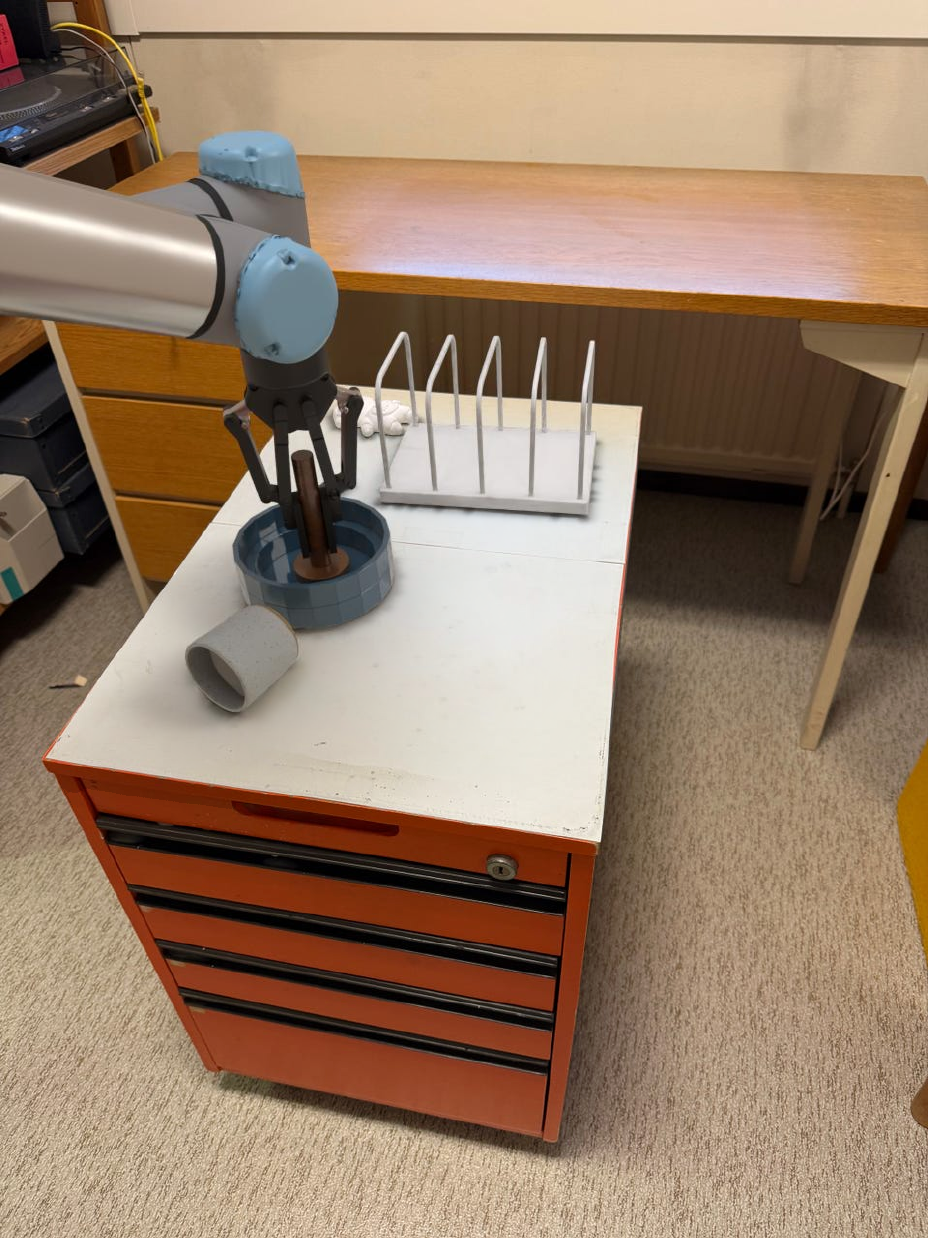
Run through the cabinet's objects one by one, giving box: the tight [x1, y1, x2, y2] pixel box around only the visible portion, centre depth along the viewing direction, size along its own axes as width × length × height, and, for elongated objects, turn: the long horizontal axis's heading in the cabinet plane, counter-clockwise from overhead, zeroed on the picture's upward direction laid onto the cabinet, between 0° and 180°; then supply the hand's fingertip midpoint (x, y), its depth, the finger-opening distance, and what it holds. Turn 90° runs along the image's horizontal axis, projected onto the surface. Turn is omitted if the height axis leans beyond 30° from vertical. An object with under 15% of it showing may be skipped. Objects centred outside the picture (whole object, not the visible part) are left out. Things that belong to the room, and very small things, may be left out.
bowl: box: [231, 495, 395, 630], centre depth 94 cm, size 16×16×6 cm
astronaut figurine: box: [332, 395, 419, 438], centre depth 122 cm, size 9×12×3 cm
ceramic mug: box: [184, 604, 300, 713], centre depth 82 cm, size 11×8×8 cm
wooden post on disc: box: [290, 449, 350, 584], centre depth 90 cm, size 6×6×14 cm
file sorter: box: [374, 331, 597, 515], centre depth 106 cm, size 25×17×16 cm
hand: (318, 548), depth 93 cm, fingers closed on wooden post on disc, 2 cm apart
